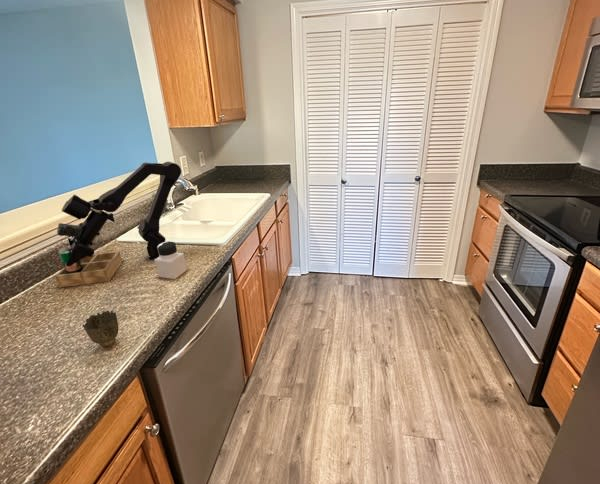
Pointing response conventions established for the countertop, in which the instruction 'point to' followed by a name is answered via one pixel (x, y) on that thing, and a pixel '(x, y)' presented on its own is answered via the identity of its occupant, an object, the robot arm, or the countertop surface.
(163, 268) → the medicine bottle
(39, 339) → the countertop surface
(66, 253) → the soda can
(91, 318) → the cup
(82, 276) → the grid
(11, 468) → the countertop surface
